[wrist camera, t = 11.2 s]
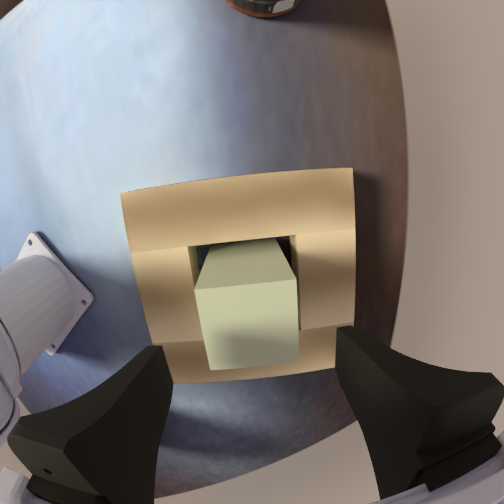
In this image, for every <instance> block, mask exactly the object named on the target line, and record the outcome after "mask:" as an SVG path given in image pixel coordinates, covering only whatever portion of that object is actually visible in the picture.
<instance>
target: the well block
mask: <svg viewBox="0 0 504 504" xmlns="http://www.w3.org/2000/svg"><path fill="white" fill-rule="evenodd" d="M120 196H121V203H122V210H123V216H124V222H125V228H126V234H127V239H128V244H129V250H130V255H131V260H132V264H133V269H134V274H135V278H136V282H137V287H138V291H139V295H140V299H141V303H142V307H143V311H144V315H145V318H146V322H147V326H148V329H149V333H150V336H151V340H152V343H153V346H154V345H162V347H163V350H164V354H165V357H166V360H167V364H168V367H169V370H170V373H171V376H172V380H173V383H201V382H220V381H234V380H246V379H256V378H266V377H274V376H282V375H290V374H297V373H304V372H310V371H316V370H322V369H328V368H334V367H335V354H336V330H337V327H342V326H348V325H351V326H353V327H354V309H355V279H356V232H355V202H354V184H353V169H352V168H327V169H309V170H294V171H281V172H269V173H258V174H248V175H239V176H230V177H221V178H213V179H205V180H198V181H190V182H183V183H176V184H170V185H164V186H157V187H151V188H145V189H140V190H134V191H130V192H125V193H120ZM279 236H289V237H290V251H291V266H292V272H293V273H294V275H295V277H296V282H297V304H298V332H299V362H292V363H284V364H276V365H267V366H258V367H248V368H236V369H223V370H210V367H209V362H208V357H207V353H206V348H205V343H204V338H203V334H202V329H201V324H200V318H199V313H198V308H197V303H196V297H195V292H194V289H195V286H196V283H197V281H198V278H199V275H200V266H199V260H198V254H197V247H196V245H205V244H214V243H223V242H232V241H242V240H251V239H260V238H270V237H279Z"/></svg>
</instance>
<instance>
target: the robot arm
mask: <svg viewBox="0 0 504 504" xmlns="http://www.w3.org/2000/svg"><path fill="white" fill-rule="evenodd" d="M31 241H32V244H31ZM83 300H85V301H86V303H84V301H83ZM92 302H93V295H92V294H91V293H90V292H89V291H88V290H87V289H86V288H85V286H84V285H83V284H82V283H81V282H80V281H79V280H78V279H77V278H76V277H75V276H74V275H73V274H72V273H71V272H70V271H69V270H68V268H67V267H66V266H65V265H64V264H63V263H62V262H61V261H60V260H59V259H58V257H57V256H56V255H55V254H54V253H53V252H52V251H51V249H50V248H49V247H48V246H47V245H46V243H45V242H44V241H43V240H42V239H41V237H40V236H39V235H38V234H37V233H36V232H31V233H30V234H29V236H28V238H27V240H26V241H25V243H24V245H23V247H22V249H21V251H20V253H19V255H18V257H17V260H16V262H14V263H12V264H10V265H8V266H6V267H4V268H2V269H0V447H1V446H2V445H4V444H5V443H6V442H8V444H9V446H10V448H11V450H12V451H13V452H14V454H15V455H16V456H17V457H18V459H19V460H20V461H21V462H22V463H23V464H24V465H25V467H27V469H28V470H29V471H30V472H31V473H32V474H33V475H32V477H31V478H30V479H28V478H27V477H26V476H24V475H22V474H20V473H18V472H16V471H13V470H12V469H9V468H8V467H4V469H3V471H2V472H1V474H0V504H154V486H155V473H156V464H157V456H158V449H159V444H160V440H161V436H162V433H163V429H164V426H165V422H166V418H167V415H168V411H169V408H170V404H171V398H172V391H173V380H172V376H171V373H170V370H169V367H168V364H167V360H166V357H165V354H164V350H163V347H162V345H154V346H148V347H146V348H145V349H144V350H142V351H141V352H140V353H139V354H138V355H136V356H135V357H134V358H133V359H132V360H131V361H130V362H128V363H127V364H126V365H125V366H124V367H122V368H121V369H120V370H119V371H118V372H116V373H115V374H114V375H112V376H111V377H110V378H108V379H107V380H106V381H104V382H103V383H102V384H100V385H99V386H97V387H96V388H94V389H92V390H91V391H89V392H87V393H86V394H84V395H82V396H80V397H78V398H76V399H74V400H72V401H70V402H68V403H66V404H63V405H61V406H58V407H55V408H52V409H50V410H47V411H43V412H40V413H35V414H31V415H27V416H22V417H20V409H19V406H18V403H17V401H16V400H15V399H16V397H17V396H18V395H19V394H20V392H21V391H22V390H23V389H22V387H21V385H20V382H19V379H20V378H21V376H22V375H23V374H24V373H25V372H26V371H27V370H28V368H29V367H30V366H31V365H32V364H33V363H34V362H35V361H36V360H37V358H38V357H39V356H40V355H41V354H42V353H43V352H44V351H46V352H47V353H48V354H50V355H54V354H55V352H56V351H57V349H58V348H59V347H60V345H61V344H62V342H63V341H64V339H65V338H66V337H67V335H68V334H69V332H70V331H71V330H72V328H73V327H74V326H75V324H76V323H77V322H78V320H79V319H80V318H81V316H82V315H83V314H84V312H85V311H86V310H87V308H88V307H89V306H90V304H91V303H92ZM53 344H54V345H55V346H54V345H53ZM335 369H336V372H337V375H338V378H339V381H340V384H341V387H342V389H343V391H344V393H345V395H346V397H347V399H348V401H349V403H350V406H351V408H352V410H353V412H354V414H355V416H356V418H357V420H358V422H359V424H360V427H361V429H362V431H363V434H364V438H365V441H366V444H367V447H368V450H369V454H370V457H371V461H372V465H373V468H374V472H375V476H376V481H377V485H378V490H379V495H380V501H376V502H373V503H370V504H504V431H503V432H502V433H501V434H500V435H499V436H498V437H497V438H496V437H495V435H494V434H493V432H494V431H495V426H494V425H493V424H492V423H491V422H492V420H493V418H494V416H495V415H496V413H497V411H498V409H499V407H500V405H501V403H502V400H503V398H504V386H503V384H502V383H501V382H500V381H499V380H498V379H497V378H496V377H495V376H494V375H493V374H492V373H485V372H484V373H483V372H466V371H459V370H452V369H447V368H442V367H438V366H434V365H430V364H427V363H424V362H421V361H418V360H416V359H413V358H410V357H408V356H405V355H403V354H401V353H399V352H397V351H395V350H393V349H391V348H389V347H387V346H385V345H384V344H382V343H380V342H378V341H377V340H375V339H373V338H372V337H370V336H368V335H367V334H365V333H363V332H362V331H360V330H358V329H357V328H355V327H353V326H351V325H348V326H342V327H337V330H336V354H335Z"/></svg>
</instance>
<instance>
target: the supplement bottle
mask: <svg viewBox="0 0 504 504" xmlns="http://www.w3.org/2000/svg"><path fill="white" fill-rule="evenodd" d="M227 2H228V3H229V4H230V5H231V6H232V7H233V8H234V9H236V10H238V11H240V12H242V13H244V14H247V15H251V16H255V17H275V16H279V15H283V14H286V13H288V12H290V11H291V10H293V9H294V8H295V7H296V6H297V5H298V4H299V2H300V0H227Z"/></svg>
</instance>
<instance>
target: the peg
mask: <svg viewBox="0 0 504 504" xmlns="http://www.w3.org/2000/svg"><path fill="white" fill-rule="evenodd" d="M194 292H195V297H196V303H197V308H198V313H199V318H200V324H201V329H202V334H203V338H204V343H205V348H206V353H207V357H208V362H209V367H210V370H223V369H236V368H248V367H258V366H267V365H276V364H284V363H292V362H299V332H298V304H297V282H296V277H295V275H294V273H293V272H292V270H291V268H290V266H289V264H288V262H287V260H286V258H285V256H284V254H283V252H282V250H281V248H280V246H279V244H278V242H277V240H276V239H266V240H257V241H247V242H237V243H228V244H219V245H211V246H210V249H209V252H208V254H207V257H206V259H205V262H204V265H203V267H202V270H201V273H200V275H199V278H198V281H197V283H196V286H195V289H194Z"/></svg>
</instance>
